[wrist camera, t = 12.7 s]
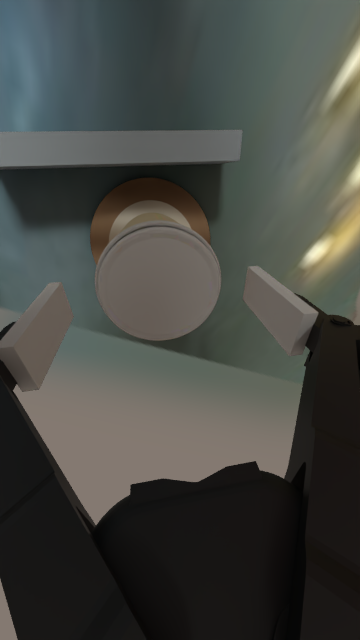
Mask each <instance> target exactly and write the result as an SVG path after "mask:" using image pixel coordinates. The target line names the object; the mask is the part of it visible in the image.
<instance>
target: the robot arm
mask: <svg viewBox="0 0 360 640" xmlns="http://www.w3.org/2000/svg"><path fill="white" fill-rule="evenodd" d="M243 300H244V302H245V303H246V304H247V305H248V307H249V308H250V309H251V310H252V311H253V313H254V314H255V315H256V316H257V317H258V319H259V320H260V321H261V322H262V323H263V325H264V326H265V327H266V328H267V329H268V331H269V332H270V333H271V334H272V336H273V337H274V338H275V339H276V340H277V342H278V343H279V344H280V345H281V346H282V348H283V349H284V350H285V351H286V352H287V354H288V355H289V356H294V355H301V354H303V351H304V349H305V346H306V347H307V348H308V349H309V350H310V352H309V355H308V357H307V359H306V362H305V364H304V366H306V370H305V376H304V381H303V387H302V393H301V398H300V404H299V410H298V415H297V421H296V426H295V433H294V438H293V443H292V449H291V455H290V460H289V465H288V469H287V472H286V475H285V478H284V479H283V478H281V477H279V476H277V475H275V474H272V473H269V472H265V471H260V470H259V468H258V465H257V463H256V461H254V462H249V463H244V464H238V465H233V466H228V467H225V468H224V469H221V470H220V471H218V472H216V473H214V474H212V475H210V476H209V477H207V478H205V479H203V480H201V481H199V482H186V481H178V480H170V479H158V480H153V481H148V482H142V483H137V484H132V485H131V489H130V490H131V492H130V495H129V496H127V497H125V498H124V499H122V500H121V501H119V502H118V503H117V504H116V505H114V506H113V507H112V508H111V509H110V510H109V511H108V512H107V513H106V514H105V515H104V516H103V517H102V519H101V520H100V521H99V523H98V524H97V525H95V523H94V522H93V520H92V519H91V517H90V516H89V514H88V513H87V511H86V510H85V509H84V507H83V505H82V504H81V502H80V500H79V499H78V497H77V495H76V494H75V492H74V491H73V489H72V487H71V486H70V484H69V482H68V481H67V479H66V477H65V476H64V474H63V472H62V471H61V469H60V467H59V466H58V464H57V462H56V461H55V459H54V457H53V456H52V454H51V452H50V451H49V449H48V448H47V446H46V444H45V443H44V441H43V440H42V438H41V436H40V434H39V433H38V431H37V430H36V428H35V426H34V424H33V423H32V421H31V419H30V418H29V416H28V414H27V413H26V411H25V409H24V408H23V406H22V405H21V403H20V401H19V400H18V398H17V396H16V395H15V393H14V392H13V389H14V388H15V386H16V384H17V385H18V386H19V387H20V389H21V390H22V392H24V391H31V390H39V388H40V386H41V384H42V382H43V380H44V378H45V376H46V374H47V372H48V370H49V368H50V365H51V363H52V361H53V359H54V357H55V355H56V353H57V351H58V349H59V346H60V344H61V342H62V340H63V338H64V336H65V334H66V332H67V330H68V328H69V325H70V323H71V321H72V319H73V317H74V316H73V313H72V310H71V308H70V305H69V302H68V299H67V297H66V294H65V291H64V288H63V286H62V283H61V282H56V283H49V284H48V285H47V286H46V287H45V289H44V290H43V291H42V292H41V293H40V294H39V296H38V297H37V298H36V299H35V300H34V302H33V303H32V304H31V305H30V306H29V307H28V309H27V310H26V311H25V312H24V313H23V314H22V316H21V317H20V318H19V319H18V320H17V322H12V323H11V324H9V325H8V326H6V327H5V328H3V330H2V331H1V332H0V579H1V582H2V586H3V589H4V593H5V596H6V600H7V603H8V607H9V610H10V614H11V617H12V621H13V624H14V628H15V631H16V635H17V638H18V640H360V325H354V323H353V322H352V321H351V320H349V319H347V318H345V317H342V316H339V315H327V314H326V313H324V312H323V311H322V310H320V309H319V308H318V307H316V306H315V305H313V304H312V303H311V302H309V301H308V300H307V299H305V298H304V297H303V296H300V295H298V294H296V293H292V292H291V291H290V290H289V289H287V288H286V287H285V286H283V285H282V284H281V283H279V282H278V281H277V280H276V279H274V278H273V277H272V276H270V275H269V274H268V273H266V272H265V271H264V270H263V269H261V268H260V267H259V266H250V267H248V270H247V276H246V282H245V289H244V295H243Z"/></svg>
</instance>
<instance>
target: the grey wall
mask: <svg viewBox="0 0 360 640" xmlns="http://www.w3.org/2000/svg"><path fill="white" fill-rule="evenodd" d="M242 131H243V130H171V131H56V132H0V170H3V169H40V168H78V167H116V166H153V165H191V164H223V163H229V162H234V161H240V151H241V141H242Z"/></svg>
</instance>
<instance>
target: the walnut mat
mask: <svg viewBox="0 0 360 640" xmlns="http://www.w3.org/2000/svg"><path fill="white" fill-rule="evenodd" d="M144 213H159V214H163V215H166V216H168V217H170V218H171V219H173V220H175V221H176V222H178V223H180V224H181V225H184V226H186V227H188V228H190V229H192V230H193V231H195V232H196V233H198V234H199V235H200V236H202V237H203V238H204V239H205V240H206V241H207V243H208V244H209V245H210V231H209V226H208V222H207V219H206V217H205V214H204V212H203V211H202V209H201V207H200V205H199V204H198V203H197V202H196V200H195V199H194V198H193V197H192V196H191V195H190V194H189V193H188V192H187V191H185V190H184V189H183V188H181V187H180V186H178V185H176V184H174V183H172V182H169V181H166V180H163V179H158V178H138V179H134V180H130V181H127V182H125V183H123V184H121V185H119V186H118V187H116V188H115V189H113V190H112V191H111V192H110V193H109V194H108V195H106V197H105V198H104V199H103V200H102V202H101V203H100V205H99V206H98V208H97V210H96V212H95V215H94V217H93V220H92V225H91V232H90V243H91V249H92V254H93V257H94V260H95V262H96V264H98V261H99V258H100V256H101V254H102V252H103V251H104V249H105V247H106V246H107V245H108V244H109V242H110V241H111V240H112V239H113V238H114V237H115V236H117V235H118V234H119V233H120V231H121V230H122V229H123V228H124V227H125V226H126V224H127V223H128V222H129V221H131V220H132V219H133V218H135V217H136V216H138V215H141V214H144Z"/></svg>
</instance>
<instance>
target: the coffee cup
mask: <svg viewBox="0 0 360 640" xmlns="http://www.w3.org/2000/svg"><path fill="white" fill-rule="evenodd" d="M220 288H221V270H220V265H219V262H218V259H217V257H216V255H215V253H214V251H213V249H212V248H211V246H210V245H209V244H208V243H207V241H206V240H205V239H204V238H203V237H202V236H200V235H199V234H198V233H196V232H195V231H193V230H192V229H190V228H188V227H186V226H184V225H181V224H180V223H178V222H176V221H175V220H173V219H171V218H170V217H168V216H166V215H163V214H159V213H144V214H141V215H138V216H136V217H135V218H133V219H132V220H131V221H129V222H128V223H127V224H126V226H125V227H124V228H123V229H122V230H121V231H120V233H119V234H118V235H117V236H115V237H114V238H113V239H112V240H111V241H110V242H109V244H108V245H107V246H106V247H105V249H104V251H103V252H102V254H101V256H100V258H99V261H98V264H97V267H96V273H95V289H96V294H97V297H98V300H99V303H100V305H101V307H102V309H103V310H104V312H105V313H106V314H107V316H108V317H109V318H110V320H111V321H112V322H113V323H114V324H115V325H116V326H118V327H119V328H120V329H122V330H123V331H125V332H127V333H128V334H130V335H133V336H135V337H138V338H142V339H146V340H156V341H159V340H169V339H174V338H178V337H181V336H183V335H185V334H187V333H189V332H191V331H193V330H194V329H196V328H197V327H199V326H200V325H201V324H202V323H203V322H204V321H205V320H206V319H207V318H208V316H209V315H210V314H211V312H212V310H213V309H214V307H215V305H216V302H217V299H218V296H219V293H220Z"/></svg>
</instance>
